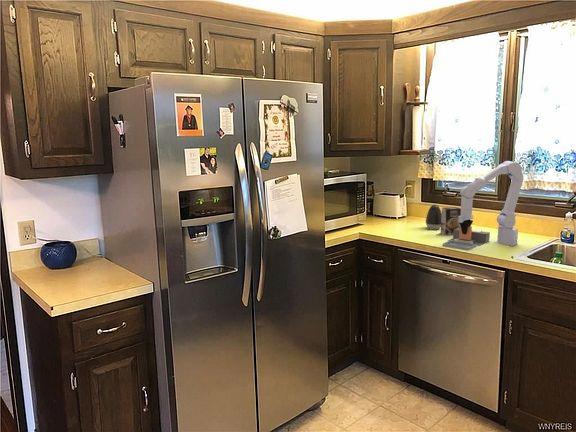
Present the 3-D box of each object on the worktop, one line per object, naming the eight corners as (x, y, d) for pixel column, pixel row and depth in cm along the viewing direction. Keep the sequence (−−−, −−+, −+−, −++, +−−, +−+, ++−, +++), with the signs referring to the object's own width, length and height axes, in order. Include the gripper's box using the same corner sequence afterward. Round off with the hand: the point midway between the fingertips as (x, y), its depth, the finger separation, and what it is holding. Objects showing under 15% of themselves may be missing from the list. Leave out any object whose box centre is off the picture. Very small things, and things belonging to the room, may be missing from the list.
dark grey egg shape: (423, 229, 287) (424, 205, 284) (428, 226, 296) (429, 202, 293) (439, 231, 282) (440, 206, 279) (444, 227, 290) (445, 204, 287)
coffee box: (445, 236, 268) (446, 209, 265) (440, 234, 274) (441, 207, 271) (460, 235, 269) (461, 208, 266) (454, 233, 275) (455, 206, 272)
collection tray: (476, 247, 242) (476, 244, 242) (468, 251, 235) (468, 248, 235) (450, 243, 252) (450, 240, 252) (442, 247, 245) (442, 243, 244)
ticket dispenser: (489, 242, 252) (489, 231, 251) (479, 247, 243) (480, 236, 242) (457, 237, 265) (457, 227, 263) (446, 241, 255) (447, 231, 254)
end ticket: (471, 239, 249) (471, 226, 247) (469, 239, 248) (470, 227, 246) (460, 237, 253) (460, 225, 251) (459, 238, 252) (459, 225, 250)
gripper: (464, 206, 255) (463, 230, 257) (453, 210, 245) (452, 235, 247) (477, 207, 250) (476, 232, 253) (466, 211, 240) (465, 236, 242)
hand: (465, 233), depth 250 cm, fingers closed on end ticket, 1 cm apart
